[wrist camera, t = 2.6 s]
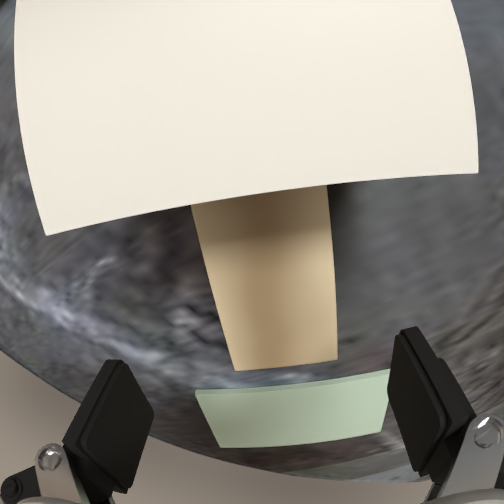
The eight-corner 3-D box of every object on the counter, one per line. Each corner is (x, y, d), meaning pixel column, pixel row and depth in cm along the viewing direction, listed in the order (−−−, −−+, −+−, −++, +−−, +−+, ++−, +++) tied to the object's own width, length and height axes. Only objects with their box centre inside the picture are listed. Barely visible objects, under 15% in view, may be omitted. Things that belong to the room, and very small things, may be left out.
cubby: (329, -38, 12) (370, -142, 2) (368, 143, 17) (478, 173, 7) (129, -1, 14) (28, -65, 3) (157, 175, 19) (46, 235, 8)
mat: (392, 368, 24) (394, 372, 23) (379, 427, 28) (380, 431, 27) (195, 389, 26) (194, 394, 25) (221, 443, 30) (220, 447, 29)
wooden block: (287, 71, 16) (299, 32, 8) (317, 281, 21) (337, 359, 14) (205, 85, 16) (161, 59, 9) (247, 290, 22) (235, 370, 14)
